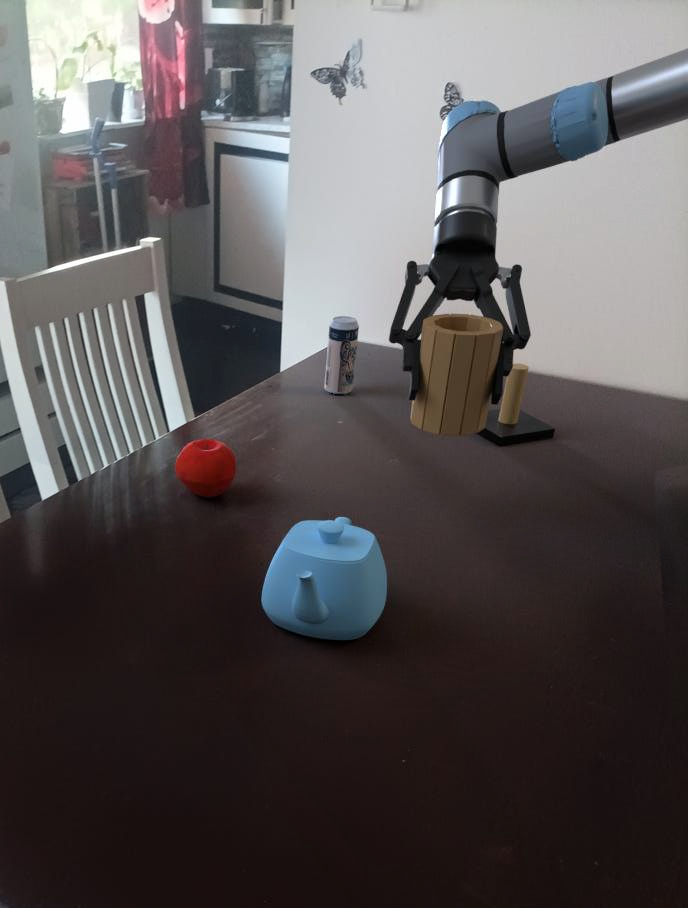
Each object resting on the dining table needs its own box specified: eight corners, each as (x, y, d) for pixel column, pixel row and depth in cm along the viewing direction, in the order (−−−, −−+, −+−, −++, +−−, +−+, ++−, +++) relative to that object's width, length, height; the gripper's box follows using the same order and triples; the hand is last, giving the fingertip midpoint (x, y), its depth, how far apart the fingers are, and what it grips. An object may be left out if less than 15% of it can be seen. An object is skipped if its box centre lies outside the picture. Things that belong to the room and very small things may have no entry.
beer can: (345, 397, 151) (352, 324, 145) (319, 392, 153) (325, 320, 146) (356, 389, 155) (363, 318, 148) (330, 384, 157) (337, 314, 150)
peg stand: (553, 437, 138) (568, 372, 132) (498, 446, 134) (512, 380, 129) (512, 415, 145) (525, 353, 139) (460, 423, 142) (470, 360, 136)
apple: (168, 502, 118) (167, 449, 114) (185, 478, 124) (185, 427, 120) (227, 510, 116) (228, 456, 112) (242, 485, 122) (243, 433, 118)
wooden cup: (499, 429, 110) (518, 329, 103) (436, 440, 107) (452, 337, 100) (457, 406, 117) (472, 310, 110) (396, 415, 114) (409, 317, 107)
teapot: (237, 559, 84) (292, 484, 98) (235, 653, 90) (287, 569, 104) (371, 585, 80) (408, 502, 94) (359, 681, 86) (395, 590, 100)
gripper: (548, 249, 113) (540, 415, 109) (373, 243, 116) (360, 406, 112) (565, 210, 106) (557, 387, 102) (378, 205, 109) (364, 377, 105)
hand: (454, 397), depth 107 cm, fingers closed on wooden cup, 9 cm apart
